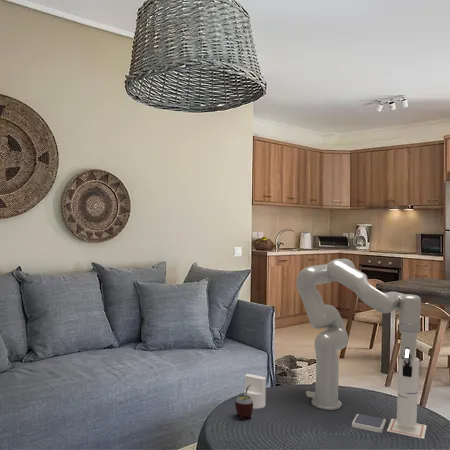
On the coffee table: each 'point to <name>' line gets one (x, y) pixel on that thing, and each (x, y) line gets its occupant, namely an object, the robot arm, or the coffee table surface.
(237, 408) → the mate gourd
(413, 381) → the cylindrical container
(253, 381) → the base with upright slab
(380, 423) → the ink pad
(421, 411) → the coffee table surface
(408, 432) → the marked paper
